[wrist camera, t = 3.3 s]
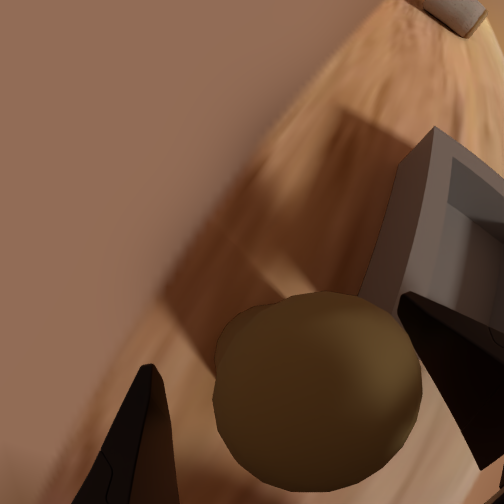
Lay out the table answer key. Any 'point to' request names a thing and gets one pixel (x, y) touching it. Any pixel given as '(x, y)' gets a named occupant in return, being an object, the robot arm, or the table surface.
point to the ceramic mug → (458, 14)
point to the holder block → (442, 234)
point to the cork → (315, 390)
